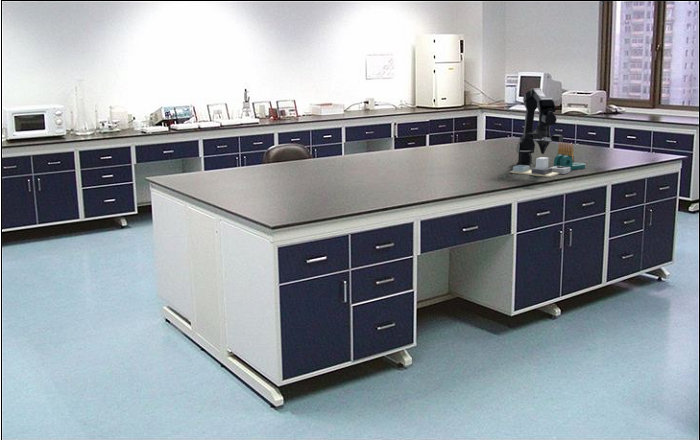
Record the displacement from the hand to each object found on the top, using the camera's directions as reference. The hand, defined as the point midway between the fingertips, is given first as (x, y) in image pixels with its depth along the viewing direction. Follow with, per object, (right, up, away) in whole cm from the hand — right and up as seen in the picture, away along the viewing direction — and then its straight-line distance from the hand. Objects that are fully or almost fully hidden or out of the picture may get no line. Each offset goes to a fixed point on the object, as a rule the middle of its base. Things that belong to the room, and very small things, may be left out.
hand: (542, 153), depth 366 cm
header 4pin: (0, -10, +3) cm, 11 cm away
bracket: (+20, -7, +18) cm, 27 cm away
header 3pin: (-9, -9, +10) cm, 16 cm away
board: (-3, -10, +5) cm, 11 cm away
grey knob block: (+11, -9, +8) cm, 16 cm away
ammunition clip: (+21, -3, +33) cm, 40 cm away
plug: (0, -9, +2) cm, 9 cm away
